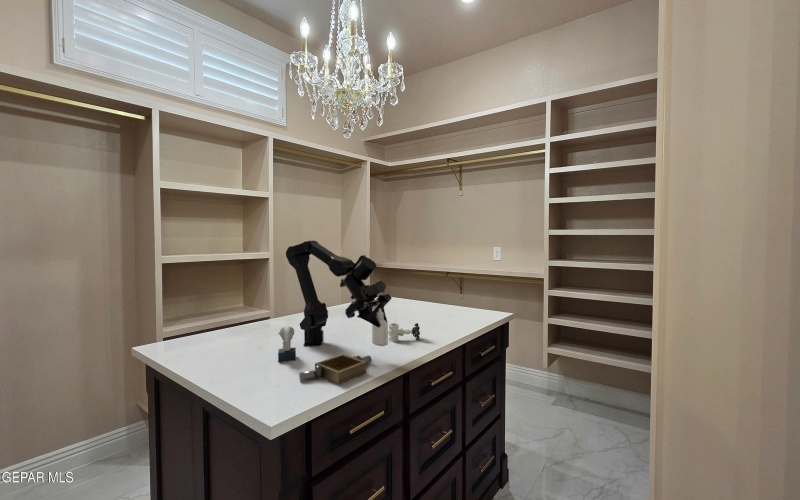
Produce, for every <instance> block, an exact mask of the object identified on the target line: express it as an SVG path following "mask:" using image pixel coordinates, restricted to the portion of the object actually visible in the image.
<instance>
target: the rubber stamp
mask: <svg viewBox="0 0 800 500" xmlns="http://www.w3.org/2000/svg"><path fill="white" fill-rule="evenodd" d="M278 335H279V336H280V337H281V340H282V348H278V352H277V353H278V355H277V359H278V360H277V362H278V363H283V362H285V363H286V362H292V361H293V362H294V361H295V362H296V361H297V359H296V358H297V357H296V356H297V353H296V350H297V348H296V347H291V346H292V345H291V344H292V343H291V342H292V340H293V338H294V335H295V329H294V327H292V326H288V325H287V326H283V327H281V328H280V330H279V332H278Z"/></svg>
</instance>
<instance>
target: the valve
mask: <svg viewBox="0 0 800 500" xmlns="http://www.w3.org/2000/svg"><path fill="white" fill-rule="evenodd" d="M399 327H400V326H399V323H395V322H393V323H392V322H391V323H389V324H388V342H390V343H397V342H398V341H399V336H400V337H403V336H404V335H410V334H412V336H413V337H414V338H415V340H420V335H421V331H420V329H421V328H420V326H419V323H418V322H417V323H415V324H414V326H413V327H412V329H411V330H410V329H403V328H399Z"/></svg>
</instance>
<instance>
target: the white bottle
mask: <svg viewBox="0 0 800 500" xmlns="http://www.w3.org/2000/svg"><path fill="white" fill-rule="evenodd" d="M376 318H377V319H378V321H379V323H380V325H381V326H380V327H379V328H378V327H376V326H375V325H373V324H371V326H372V329H371V330H372V331H371V337H372V338H371V339H372V340H371V341H372V344H373V345H375V346H378V347H385V346H388V344H389V324H388V323H389V322H388V321H387V322H388V323H387V322H386V321H385V320H384V313H383V312H382V311H381V308H379V311H378V312H377V313H376Z"/></svg>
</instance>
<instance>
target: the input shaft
mask: <svg viewBox="0 0 800 500" xmlns="http://www.w3.org/2000/svg"><path fill="white" fill-rule="evenodd" d="M353 357H354V358H357V359H360V360H363V361H366V362H367V365H368V364H371V363H372V360H373V359H372V356H370V355H369V354H368V355H365V356H363V357H362V356H360V355H356V356H353Z"/></svg>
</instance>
